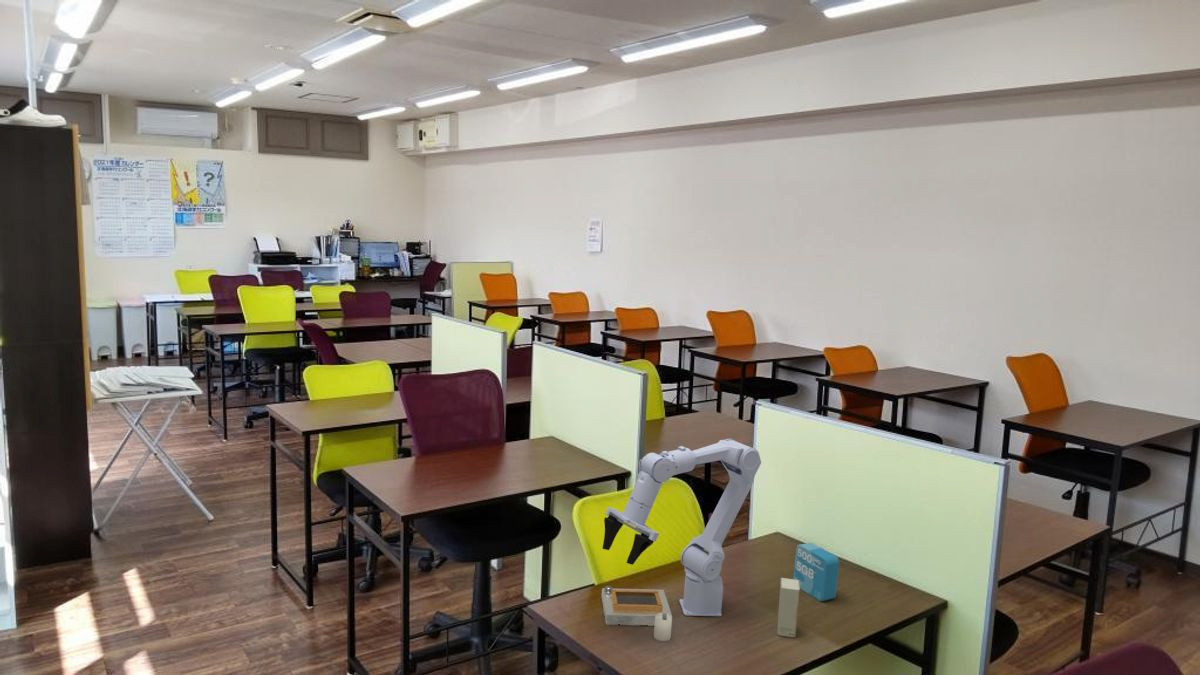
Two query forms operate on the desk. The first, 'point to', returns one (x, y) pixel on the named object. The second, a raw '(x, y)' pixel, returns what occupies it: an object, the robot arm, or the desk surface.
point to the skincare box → (788, 607)
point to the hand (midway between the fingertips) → (617, 556)
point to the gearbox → (633, 606)
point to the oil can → (662, 626)
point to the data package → (816, 571)
